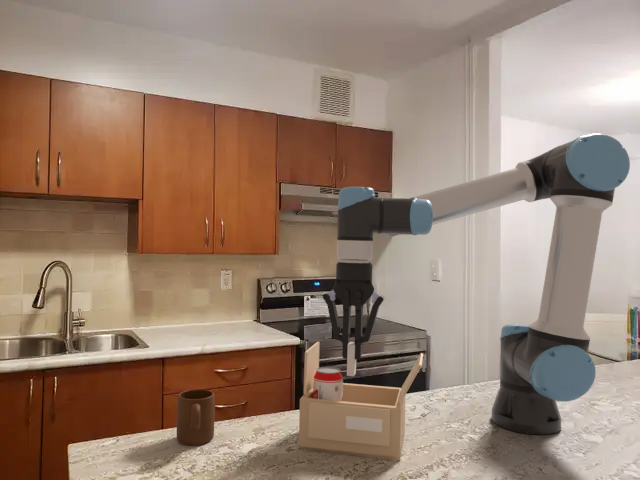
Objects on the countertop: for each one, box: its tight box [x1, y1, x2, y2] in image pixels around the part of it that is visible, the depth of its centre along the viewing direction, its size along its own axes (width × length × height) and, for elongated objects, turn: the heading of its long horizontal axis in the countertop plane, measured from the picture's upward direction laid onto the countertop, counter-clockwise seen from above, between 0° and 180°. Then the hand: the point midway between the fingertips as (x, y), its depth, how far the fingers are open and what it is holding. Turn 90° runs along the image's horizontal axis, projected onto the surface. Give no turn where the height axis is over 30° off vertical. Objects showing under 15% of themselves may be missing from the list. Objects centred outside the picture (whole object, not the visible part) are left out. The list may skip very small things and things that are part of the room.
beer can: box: [313, 366, 344, 401], centre depth 107 cm, size 6×6×16 cm
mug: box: [176, 388, 216, 447], centre depth 105 cm, size 12×8×9 cm, turn 13°
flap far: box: [303, 341, 321, 395], centre depth 109 cm, size 8×11×1 cm
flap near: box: [398, 352, 424, 403], centre depth 105 cm, size 8×11×1 cm
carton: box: [298, 382, 406, 462], centre depth 107 cm, size 20×15×10 cm
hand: (351, 374), depth 107 cm, fingers closed
